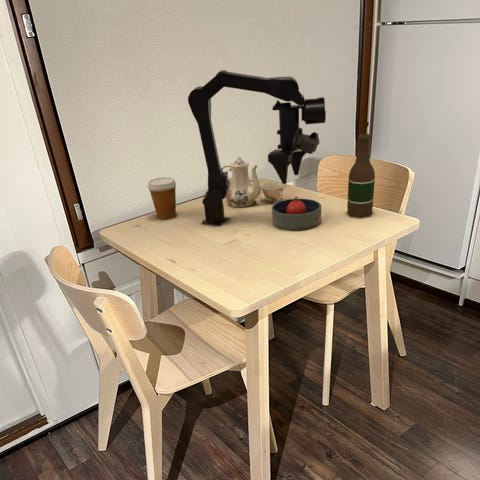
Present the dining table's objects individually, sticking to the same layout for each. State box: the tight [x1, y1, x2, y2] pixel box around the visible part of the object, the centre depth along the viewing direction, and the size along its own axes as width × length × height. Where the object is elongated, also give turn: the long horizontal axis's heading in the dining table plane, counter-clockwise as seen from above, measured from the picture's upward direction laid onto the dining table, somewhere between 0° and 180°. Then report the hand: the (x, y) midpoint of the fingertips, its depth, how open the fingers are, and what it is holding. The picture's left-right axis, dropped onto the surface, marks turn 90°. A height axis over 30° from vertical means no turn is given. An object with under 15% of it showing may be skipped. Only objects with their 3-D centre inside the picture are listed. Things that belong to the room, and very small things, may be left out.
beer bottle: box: [346, 132, 376, 218], centre depth 148 cm, size 8×8×24 cm
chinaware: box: [221, 155, 286, 208], centre depth 170 cm, size 28×17×17 cm, turn 58°
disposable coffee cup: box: [147, 176, 177, 220], centre depth 163 cm, size 10×10×12 cm
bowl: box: [270, 198, 323, 231], centre depth 151 cm, size 15×15×5 cm
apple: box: [287, 196, 306, 214], centre depth 150 cm, size 6×6×7 cm
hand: (290, 179), depth 149 cm, fingers open, 9 cm apart
